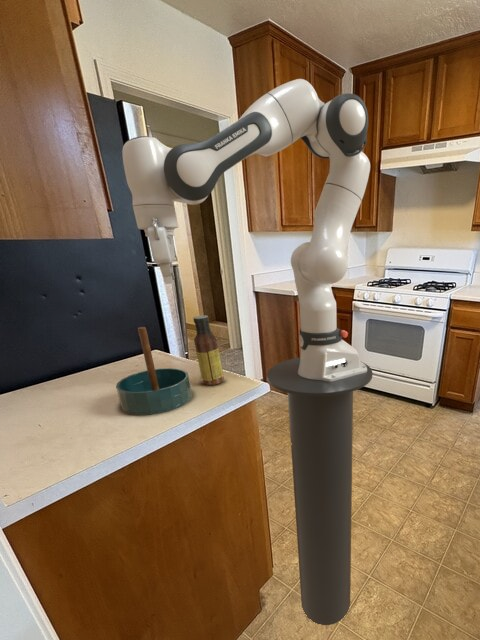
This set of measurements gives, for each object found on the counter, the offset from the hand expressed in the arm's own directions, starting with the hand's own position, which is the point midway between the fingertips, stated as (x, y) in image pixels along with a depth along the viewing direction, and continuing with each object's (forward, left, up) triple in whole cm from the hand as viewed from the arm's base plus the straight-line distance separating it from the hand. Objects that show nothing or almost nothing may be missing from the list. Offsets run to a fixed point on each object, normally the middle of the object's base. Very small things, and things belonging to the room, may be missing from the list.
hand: (170, 281), depth 87 cm
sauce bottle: (-7, -5, -30) cm, 31 cm away
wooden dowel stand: (+8, +2, -30) cm, 31 cm away
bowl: (+8, +2, -30) cm, 31 cm away
